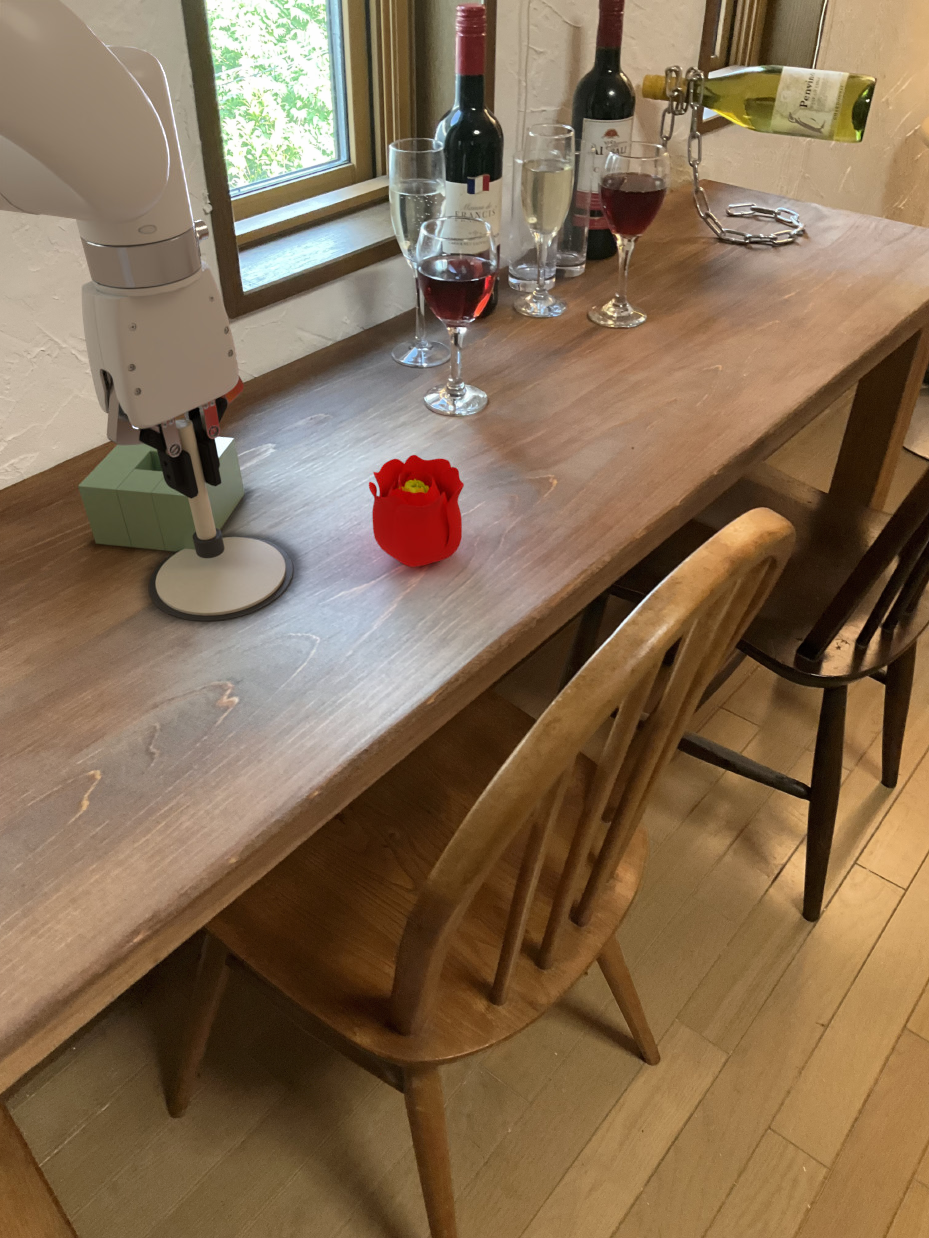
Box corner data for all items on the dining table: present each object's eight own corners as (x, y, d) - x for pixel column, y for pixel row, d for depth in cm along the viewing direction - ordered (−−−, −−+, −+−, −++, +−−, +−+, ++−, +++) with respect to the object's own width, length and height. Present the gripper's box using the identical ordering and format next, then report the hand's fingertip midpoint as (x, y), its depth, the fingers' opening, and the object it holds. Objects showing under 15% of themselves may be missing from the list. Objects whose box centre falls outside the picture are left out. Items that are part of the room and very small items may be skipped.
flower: (393, 525, 87) (387, 446, 82) (475, 536, 86) (475, 457, 81) (364, 575, 81) (356, 493, 76) (452, 587, 80) (450, 506, 75)
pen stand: (95, 544, 86) (77, 485, 82) (145, 485, 93) (131, 429, 90) (203, 554, 84) (189, 496, 80) (245, 494, 92) (234, 438, 88)
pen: (191, 557, 81) (160, 429, 74) (202, 541, 83) (173, 415, 75) (218, 559, 81) (190, 432, 73) (228, 543, 83) (202, 417, 75)
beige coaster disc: (124, 613, 78) (122, 609, 77) (184, 532, 87) (183, 527, 86) (265, 629, 76) (264, 624, 76) (311, 544, 85) (310, 539, 85)
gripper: (202, 217, 73) (241, 435, 84) (10, 276, 64) (84, 511, 75) (267, 237, 69) (299, 462, 80) (72, 303, 60) (140, 545, 71)
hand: (195, 484), depth 78 cm, fingers closed on pen, 1 cm apart
